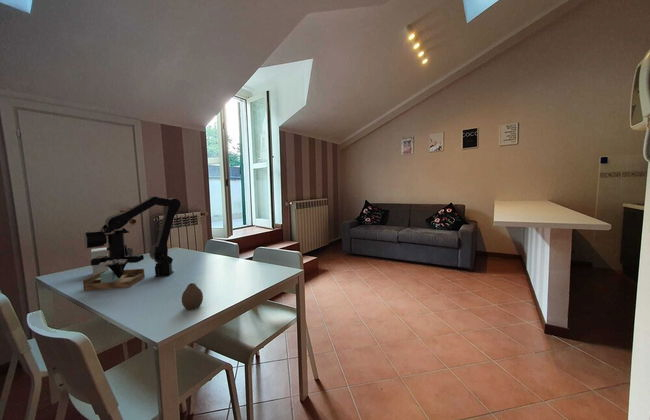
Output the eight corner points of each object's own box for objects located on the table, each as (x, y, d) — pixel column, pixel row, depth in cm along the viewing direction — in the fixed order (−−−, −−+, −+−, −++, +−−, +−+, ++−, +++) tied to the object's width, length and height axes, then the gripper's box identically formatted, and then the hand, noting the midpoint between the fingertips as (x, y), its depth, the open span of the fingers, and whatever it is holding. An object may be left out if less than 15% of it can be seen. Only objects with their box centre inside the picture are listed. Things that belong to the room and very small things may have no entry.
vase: (187, 304, 98) (185, 281, 97) (206, 303, 99) (204, 280, 98) (178, 312, 91) (177, 288, 91) (199, 311, 92) (197, 287, 91)
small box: (109, 274, 135) (106, 249, 134) (92, 277, 131) (90, 251, 130) (109, 270, 141) (107, 247, 140) (93, 273, 137) (91, 248, 136)
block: (118, 278, 120) (117, 270, 120) (112, 282, 116) (111, 273, 116) (107, 279, 120) (106, 271, 119) (101, 283, 115) (100, 274, 115)
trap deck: (144, 277, 129) (144, 268, 129) (129, 287, 116) (128, 277, 116) (103, 280, 126) (103, 271, 126) (83, 290, 113) (82, 280, 113)
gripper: (148, 239, 126) (150, 270, 128) (105, 241, 123) (108, 273, 125) (135, 244, 115) (138, 278, 117) (87, 246, 112) (91, 282, 114)
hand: (119, 277), depth 118 cm, fingers closed
